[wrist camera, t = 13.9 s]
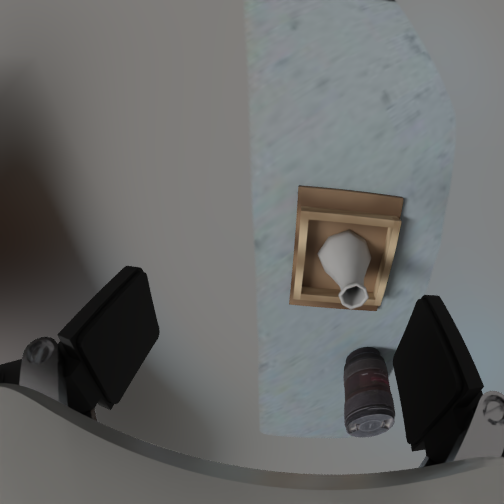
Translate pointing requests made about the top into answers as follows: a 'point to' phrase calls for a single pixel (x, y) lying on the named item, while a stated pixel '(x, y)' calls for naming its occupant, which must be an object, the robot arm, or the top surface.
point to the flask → (347, 266)
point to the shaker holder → (333, 222)
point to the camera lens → (367, 394)
